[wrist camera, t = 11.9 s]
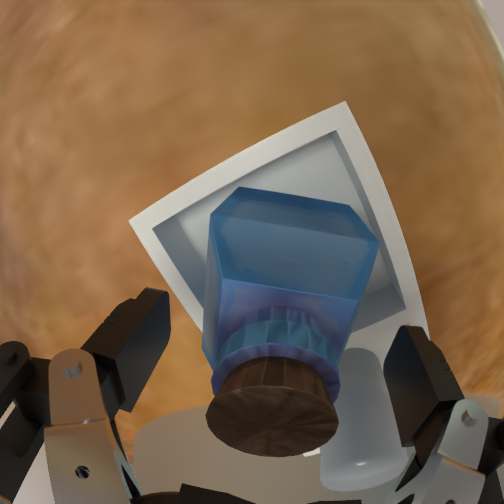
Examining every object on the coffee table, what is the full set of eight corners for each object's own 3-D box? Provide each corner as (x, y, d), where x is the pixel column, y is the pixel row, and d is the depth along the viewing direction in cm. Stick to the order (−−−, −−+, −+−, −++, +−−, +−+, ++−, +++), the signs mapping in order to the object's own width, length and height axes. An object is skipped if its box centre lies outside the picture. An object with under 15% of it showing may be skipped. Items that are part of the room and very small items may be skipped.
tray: (158, 203, 18) (128, 220, 14) (332, 109, 15) (345, 100, 11) (305, 422, 24) (304, 456, 21) (426, 379, 21) (439, 411, 17)
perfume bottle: (349, 205, 16) (449, 343, 5) (325, 301, 18) (347, 480, 7) (239, 186, 16) (132, 295, 5) (228, 284, 19) (158, 453, 7)
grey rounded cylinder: (320, 347, 19) (329, 458, 11) (387, 346, 19) (422, 447, 11) (312, 395, 21) (314, 493, 13) (371, 393, 21) (391, 485, 12)
